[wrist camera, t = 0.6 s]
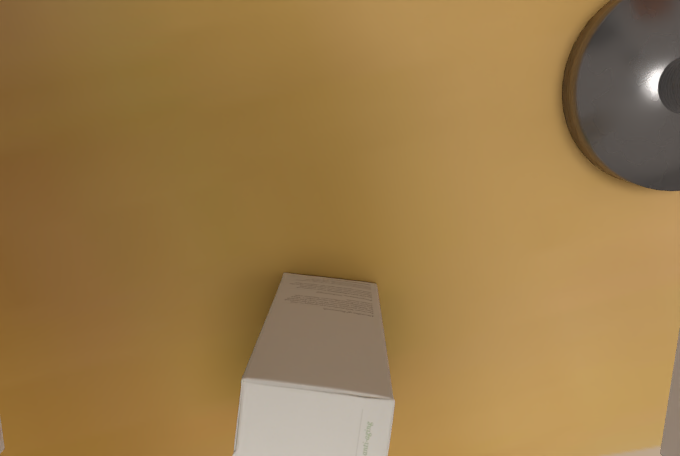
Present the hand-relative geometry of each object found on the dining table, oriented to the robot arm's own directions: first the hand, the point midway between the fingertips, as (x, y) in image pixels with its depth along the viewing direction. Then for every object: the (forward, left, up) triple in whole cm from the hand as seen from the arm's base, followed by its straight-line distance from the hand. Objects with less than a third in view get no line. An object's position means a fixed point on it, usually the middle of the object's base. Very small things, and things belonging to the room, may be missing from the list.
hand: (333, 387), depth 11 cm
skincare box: (+9, -4, -26) cm, 28 cm away
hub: (-1, +20, -26) cm, 33 cm away
